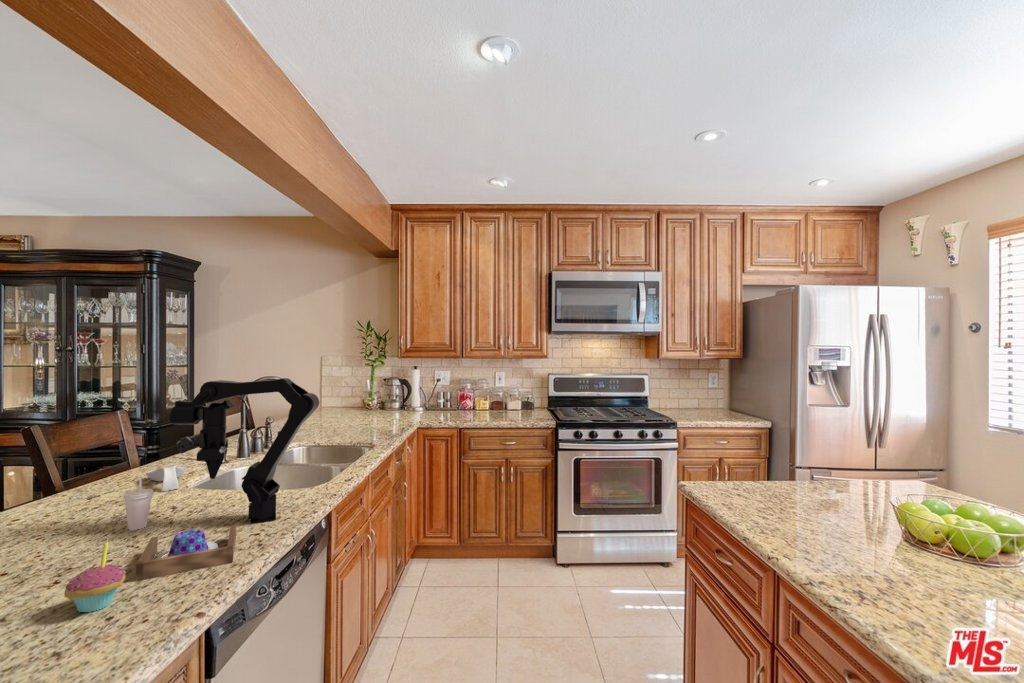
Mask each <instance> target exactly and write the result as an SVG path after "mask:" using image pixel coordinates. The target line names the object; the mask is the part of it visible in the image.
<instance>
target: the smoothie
mask: <svg viewBox="0 0 1024 683" xmlns="http://www.w3.org/2000/svg"><path fill="white" fill-rule="evenodd" d="M138 480H139V483H138V484H139V486H138V489H136V490H131V491H127V492H125V493H124V494H123V496H122V499H123V500H124V504H125V512H126V520H127V528H128V529H129V530H128V531H130V530H135V531H137V530H136V529H140V530H142V529H141V528H143V527H145V528H147V524H148V519H149V512H150V509H151V508H150V507H151V502H152V497H153V495H154V490H153V489H151V488H143V476H139V479H138ZM143 529H144V528H143Z"/></svg>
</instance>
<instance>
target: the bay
mask: <svg viewBox="0 0 1024 683" xmlns="http://www.w3.org/2000/svg"><path fill="white" fill-rule="evenodd" d="M229 528H230V529H229V534H228V540H227V545H226V546H222V547H218V548H215V549H210V550H204V551H198V552H192V553H187V554H181V555H175V556H170V557H164V558H158V559H156V558H155V557H156V555H157V553H156V552H158V540H159V536H153V537H152V536H151V537H150V539H149V542H148V543H147V545H146V546H145V548H144V549H143V551H142V553H141V555H140V557H139V559H138V560H137V562H136V563H135V577H134V579H135V580H139V581H141V580H140V579H144V580H148V579H147V578H150V579H153V578H152V577H155V578H158V577H157V576H160V577H164V575H165V576H169V574H171V575H174V573H176V574H180V573H179V572H181V573H185V572H184V571H186V572H190V571H189V570H192V571H195V570H194V569H197V570H200V568H202V569H206V568H205V567H207V568H211V567H210V566H213V567H216V566H215V565H218V566H222V565H221V564H223V565H228V564H232V562H233V563H234V555H235V554H234V553H235V548H236V547H235V546H236V541H237V540H236V539H237V524H231V525H230V527H229ZM155 554H156V555H155ZM154 556H155V557H154ZM153 558H154V559H153ZM227 563H228V564H227ZM135 580H134V581H135Z"/></svg>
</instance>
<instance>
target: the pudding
mask: <svg viewBox="0 0 1024 683" xmlns="http://www.w3.org/2000/svg"><path fill="white" fill-rule="evenodd" d="M208 547H210V549H215V548H219V545H218V543H216V542H213V541H207V538H206V535H205V532H204V531H203V530H201V529H189V530H185V531H181V532H180V533H179V532H178V533H177V534H175V535H174V537H173V539H172V542H171V545H170V548H168V549H166V550H164V551H163V552H161V553H160V554H158V555H157V557H156V558H155V559H158V558H161V557H162V556H163V555H165V554H167V553H168V552H169V554H168V557H170V556H175V555H181V554H187V553H192V552H198V551H204V550H209V549H208Z"/></svg>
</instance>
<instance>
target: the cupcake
mask: <svg viewBox="0 0 1024 683" xmlns="http://www.w3.org/2000/svg"><path fill="white" fill-rule="evenodd" d="M108 540H109V538H108V537H107V538H106V540H105V542H104V543H103V547H102V554H101V558H100V559H101V560H100V565H99V566H95V567H94V566H91V567H89V568H86V569H85V570H83V571H81V572H80V573H78V574H77V575H76V576H74V577H73V578H71V579H69V581H68V583H67V584H66V586H65V589H64V597H65V598H67V599H70V600H72V601H73V602H74V605H75V606H76V610H77V611H79V613H80V612H89V613H92V612H91V611H94V612H97V611H100V610H103V609H105V608H106V606H107V607H108V606H109V604H110V603H111V602H113V600H114V598H115V595H116V593H117V590H118V588H119V587H121V586H122V584H123V583H124V581H125V580H126V571H125V569H123V567H121V566H118V565H112V564H106V561H107V554H108V547H109V542H108ZM111 604H112V603H111ZM111 604H110V605H111ZM104 607H105V608H104ZM102 608H103V609H102ZM99 609H100V610H99ZM96 610H97V611H96Z"/></svg>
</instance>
